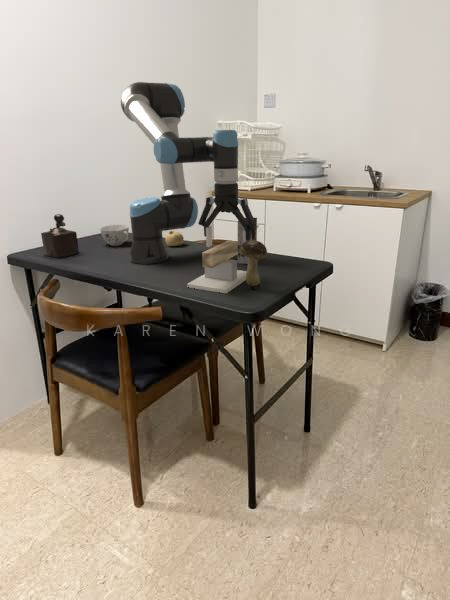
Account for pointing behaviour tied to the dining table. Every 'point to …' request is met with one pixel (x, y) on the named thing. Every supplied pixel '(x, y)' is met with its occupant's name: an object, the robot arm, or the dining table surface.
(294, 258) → the dining table surface
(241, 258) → the coffee box
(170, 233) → the onion
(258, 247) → the mushroom
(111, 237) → the teacup
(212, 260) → the beech bar
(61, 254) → the brown coffee grinder
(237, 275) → the fulcrum
